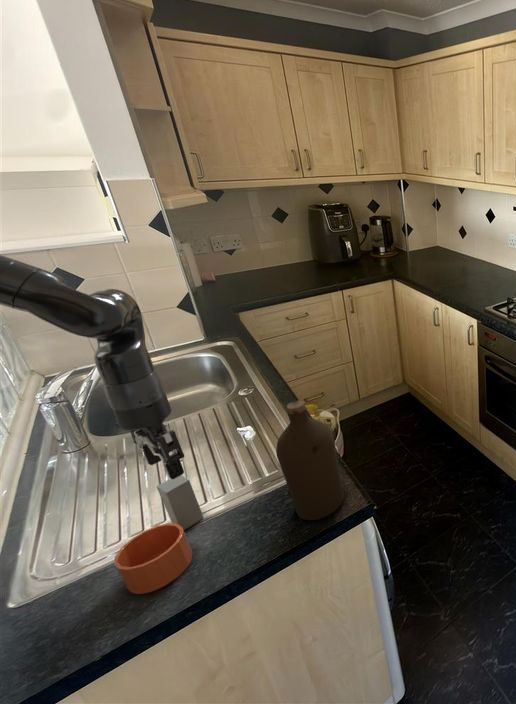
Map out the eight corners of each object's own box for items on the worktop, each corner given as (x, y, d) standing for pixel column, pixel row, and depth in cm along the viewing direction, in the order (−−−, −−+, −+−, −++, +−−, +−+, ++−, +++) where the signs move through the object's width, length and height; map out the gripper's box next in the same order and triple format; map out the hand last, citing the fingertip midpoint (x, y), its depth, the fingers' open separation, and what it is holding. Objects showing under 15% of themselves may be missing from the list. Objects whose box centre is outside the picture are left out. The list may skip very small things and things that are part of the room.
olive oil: (356, 488, 92) (335, 392, 83) (327, 526, 82) (300, 422, 73) (315, 482, 94) (290, 388, 85) (282, 519, 84) (250, 417, 75)
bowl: (141, 603, 68) (128, 578, 66) (117, 579, 73) (104, 555, 70) (202, 558, 76) (192, 535, 74) (177, 539, 80) (167, 516, 78)
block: (182, 531, 82) (165, 493, 78) (172, 524, 84) (156, 486, 80) (203, 517, 85) (189, 479, 82) (194, 510, 87) (179, 473, 84)
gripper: (95, 398, 74) (126, 469, 80) (130, 418, 68) (161, 494, 73) (145, 380, 80) (170, 447, 86) (181, 397, 74) (206, 468, 80)
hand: (166, 469), depth 80 cm, fingers open, 8 cm apart
